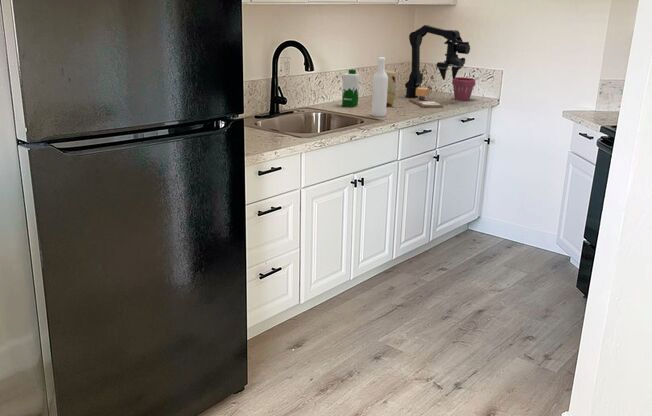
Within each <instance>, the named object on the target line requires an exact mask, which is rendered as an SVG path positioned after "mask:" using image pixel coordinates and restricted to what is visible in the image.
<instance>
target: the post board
mask: <svg viewBox="0 0 652 416" xmlns="http://www.w3.org/2000/svg"><path fill="white" fill-rule="evenodd" d="M408 102H410V103H412V104H414V105H416V106H418V107H420V108H423V109H443V108H444V105H443V104H441V103H439V102H437V101H434V100H432V99H430V98H427V97H426V96H418V97H417V98H408Z"/></svg>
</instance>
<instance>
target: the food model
mask: <svg viewBox="0 0 652 416" xmlns="http://www.w3.org/2000/svg"><path fill="white" fill-rule="evenodd" d="M385 73H386V74H387V76H388V88H387V105H386V107H391V106H393V105H394V102H395V98H396V97H395V96H396V83H397V81H396V77H397V76H396V72H395V71H392V70H385Z"/></svg>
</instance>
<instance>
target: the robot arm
mask: <svg viewBox="0 0 652 416" xmlns="http://www.w3.org/2000/svg"><path fill="white" fill-rule="evenodd" d="M427 34H432V35H434V36H435V35H436V36H439V37H440V36H441V37H443V38H444V39H446V41H445V42H444V45H447V47H446V53H445V54H444V56H445V57H446V58H445V60H444V61H443V62H442V61H439V62H437V63H436V68H437V69H438V70H439V73H440V77H441V78H442V81H444V80H446V79H445V78H446V74H447V71H449V67H451V74H452V75H451V77H452V80H453V79H455V77H456V76H457V74H458V72H459V70H460V69H462V68H463V67H464V66H465V64H466V58H465V57H461V58H460V57H459V54H463V55H469V54H470V51H471V46H470V41H463V38H462V37H461V33H460V31H459V30H456V29H443V28H439V27H436V26H432V25H430V24H428V25H427V24H424V25H422V26H421V27H420V28H417V29H416V30H415V31H412V32H410V34H409V35H408V39H409V44H410V46H411V72H410V74H409V75H408V76H409V77H408V81H407V82H405V84H404V86H405V88H406V91H405V92H406V93H405V96H404V98H408V99H410V98H419V96H416V89H417V88H420V85H421V84H422V83H423V81H424V79H423V78H424V73H421V69H420V66H421V65H420V63H421V62H420V61H421V59H420V55H421V53H420V52H421V50H420V49H421V45H422V42H423V39H424V37H425V36H426V35H427Z"/></svg>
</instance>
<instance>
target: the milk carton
mask: <svg viewBox="0 0 652 416" xmlns="http://www.w3.org/2000/svg"><path fill="white" fill-rule="evenodd" d="M341 90H342V93H341V95H342V98H341V100H342V101H341V102H342V103H341V105H342V106H341V107H347V108H355V107H357V106H358V104H359V103H358V102H359V90H360V73H357V70H356V69H348V72H346V73H344V74H342V89H341Z"/></svg>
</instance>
